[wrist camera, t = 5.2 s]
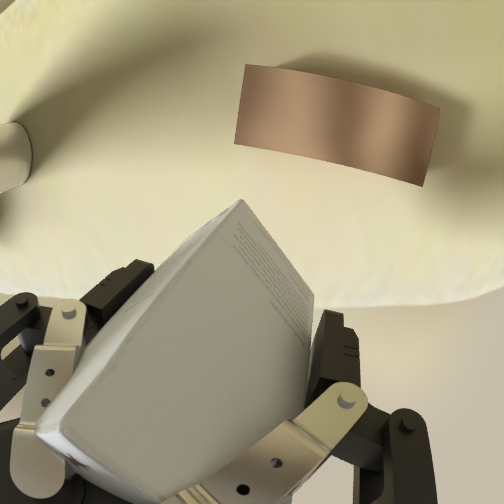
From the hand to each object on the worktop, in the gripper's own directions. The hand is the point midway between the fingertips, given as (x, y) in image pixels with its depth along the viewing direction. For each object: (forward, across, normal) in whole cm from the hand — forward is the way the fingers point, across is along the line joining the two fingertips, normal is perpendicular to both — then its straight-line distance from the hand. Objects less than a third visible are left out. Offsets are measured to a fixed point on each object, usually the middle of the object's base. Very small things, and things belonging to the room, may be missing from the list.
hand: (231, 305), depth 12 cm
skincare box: (+4, 0, 0) cm, 4 cm away
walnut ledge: (+17, -3, -7) cm, 19 cm away
